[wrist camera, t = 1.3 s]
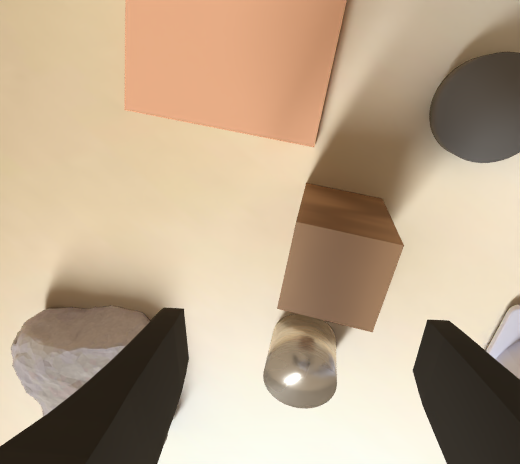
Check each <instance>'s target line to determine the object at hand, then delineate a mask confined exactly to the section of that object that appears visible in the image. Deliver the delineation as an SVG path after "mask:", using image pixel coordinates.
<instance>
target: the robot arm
mask: <svg viewBox="0 0 520 464" xmlns="http://www.w3.org/2000/svg"><path fill="white" fill-rule="evenodd" d="M188 360H189V356H188V346H187V336H186V327H185V317H184V309H179V308H163V309H162V310H161V311H160V312H159V313H158V314H157V315H156V316H155V317H154V318H153V319H152V320H151V321H150V322H149V323H148V324H147V325H146V326H145V327H144V328H143V329H142V330H141V331H140V332H139V333H138V334H137V335H136V336H135V337H134V338H133V339H132V341H130V342H129V343H128V344H127V345H126V346H125V347H124V348H123V349H122V350H121V351H120V352H119V353H118V354H117V355H116V356H115V357H114V358H113V359H112V360H111V361H110V362H109V363H108V364H107V365H105V366H104V367H103V368H102V369H101V370H100V371H99V372H98V373H96V374H95V375H94V376H93V377H92V378H91V379H90V380H89V381H87V382H86V383H85V384H84V385H83V386H82V387H80V388H79V389H78V390H77V391H76V392H74V393H73V394H72V395H71V396H70V397H68V398H67V399H66V400H65V401H63V402H62V403H61V404H59V405H58V406H57V407H56V408H54V409H53V410H52V411H50V412H49V413H48V414H46V415H45V416H44V417H42V418H41V419H39V420H38V421H37V422H35V423H34V424H32V425H31V426H29V427H28V428H26V429H25V430H24V431H22V432H21V433H19V434H18V435H16V436H15V437H13V438H12V439H10V440H9V441H8V442H6V443H5V444H3V445H2V446H0V464H157V463H158V460H159V457H160V454H161V451H162V448H163V445H164V442H165V440H166V437H167V434H168V431H169V428H170V425H171V422H172V419H173V416H174V413H175V410H176V407H177V404H178V401H179V398H180V395H181V392H182V388H183V384H184V379H185V375H186V370H187V365H188ZM413 373H414V376H415V380H416V384H417V388H418V391H419V395H420V398H421V401H422V405H423V407H424V410H425V412H426V415H427V417H428V419H429V422H430V424H431V427H432V429H433V432H434V434H435V436H436V439H437V441H438V443H439V446H440V448H441V450H442V453H443V455H444V458H445V460H446V462H447V464H520V305H514V306H512V307H510V308H509V310H508V311H507V313H506V315H505V316H504V318H503V320H502V322H501V324H500V326H499V328H498V329H497V331H496V333H495V335H494V337H493V339H492V341H491V342H490V344H489V346H488V348H487V350H486V351H485V350H484V349H483V348H481V347H480V346H479V345H478V344H477V343H476V342H474V341H473V340H472V339H471V338H470V337H468V336H467V335H466V334H465V333H464V332H462V331H461V330H460V329H459V328H458V327H456V326H455V325H454V324H453V323H451V322H450V321H445V320H427V323H426V327H425V330H424V333H423V337H422V340H421V344H420V347H419V351H418V354H417V358H416V361H415V365H414V368H413Z"/></svg>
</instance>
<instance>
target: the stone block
mask: <svg viewBox="0 0 520 464" xmlns="http://www.w3.org/2000/svg"><path fill="white" fill-rule="evenodd" d="M149 322H150V320H149V319H148V317H147V316H146V315H145V314H143V313H142V312H138V311H133V310H128V309H124V308H121V307H116V306H105V307H93V308H90V309H80V308H73V307H68V308H49V309H46V310H44V311H42V312H40V313H38V314H37V315H35V316H34V317H32V318H30V319H29V320H27V321H26V322H25V323H24V325H23V326H22V328H21V331H19V332H18V333H17V336H16V338H15V340H14V341H13V344H12V346H11V351H12V356H13V365H12V366H13V368H14V370H15V372H16V374H17V376H18V378H19V379H20V381H21V383H22V385H23V386H24V389H25V391H26V393H28V394H29V395H30V396H32V397H34V398H35V399H36V400H37V401H38V402H39V404H40V405H41V407H42V410H43V416H45V415H46V414H48V413H49V412H50V411H52V410H53V409H54V408H56V407H57V406H58V405H59V404H61V403H62V402H63V401H65V400H66V399H67V398H68V397H70V396H71V395H72V394H73V393H74V392H76V391H77V390H78V389H79V388H80V387H82V386H83V385H84V384H85V383H86V382H87V381H89V380H90V379H91V378H92V377H93V376H94V375H95V374H96V373H98V372H99V371H100V370H101V369H102V368H103V367H104V366H105V365H107V364H108V363H109V362H110V361H111V360H112V359H113V358H114V357H115V356H116V355H117V354H118V353H119V352H120V351H121V350H122V349H123V348H124V347H125V346H126V345H127V344H128V343H129V342H130V341H132V339H133V338H134V337H135V336H136V335H137V334H138V333H139V332H140V331H141V330H142V329H143V328H144V327H145V326H146V325H147V324H148V323H149ZM167 436H168V434H167ZM166 439H167V437H166ZM165 441H166V440H165ZM164 444H165V442H164Z"/></svg>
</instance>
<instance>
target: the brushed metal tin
mask: <svg viewBox="0 0 520 464" xmlns="http://www.w3.org/2000/svg"><path fill="white" fill-rule="evenodd" d="M263 377H264V383H265V385H266V387H267V389H268V391H269V392H270V393H271V394H272V396H274V397H275V398H276V399H277V400H279V401H280V402H282V403H284V404H286V405H289V406H292V407H296V408H313V407H317V406H320V405H323V404H324V403H326V402H327V401H329V400H330V399H331V398H332V396H333V395H334V393H335V391H336V387H337V371H336V338H335V334H334V332H333V330H332V328H331V327H330V326H329V325H328V324H327V323H326V322H325V321H324V320H321V319H317V318H313V317H309V316H305V315H301V314H292V315H289V316H286V317H285V318H283V319H282V320H280V321H279V322H278V323H277V325H276V326H275V328H274V331H273V335H272V339H271V343H270V348H269V352H268V356H267V360H266V365H265V369H264V374H263Z"/></svg>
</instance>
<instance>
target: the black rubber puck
mask: <svg viewBox="0 0 520 464" xmlns="http://www.w3.org/2000/svg"><path fill="white" fill-rule="evenodd" d="M430 127H431V130H432V133H433V135H434V137H435V139H436V140H437V142H438V143H439V144H440V145H441V146H442V147H443V148H444V149H446V150H447V151H449V152H450V153H452V154H454V155H456V156H458V157H460V158H462V159H465V160H467V161H471V162H478V163H490V162H496V161H501V160H504V159H507V158H509V157H511V156H514V155H516V154H517V153H519V152H520V53H515V52H501V53H495V54H490V55H485V56H481V57H478V58H474V59H472V60H469V61H467V62H465V63H463V64H462V65H460V66H459V67H457V68H456V69H454V70H453V71H452V72H451V73H450V74H449V75H448V76H447V77H446V78H445V79H444V80H443V81H442V83H441V84H440V86H439V87H438V89H437V91H436V93H435V95H434V97H433V100H432V103H431V107H430Z"/></svg>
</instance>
